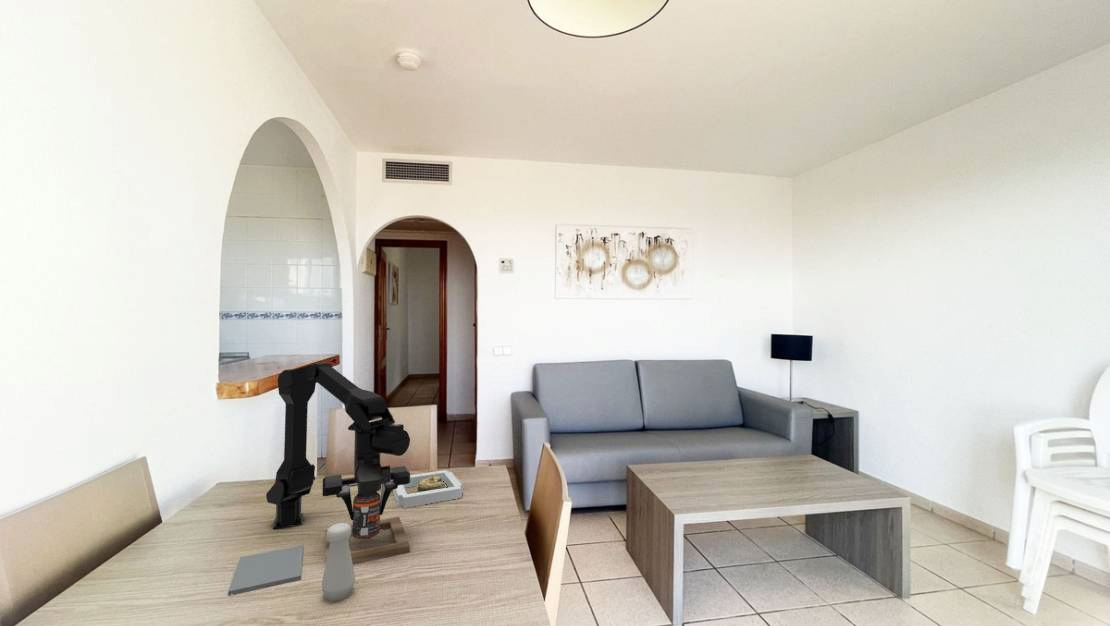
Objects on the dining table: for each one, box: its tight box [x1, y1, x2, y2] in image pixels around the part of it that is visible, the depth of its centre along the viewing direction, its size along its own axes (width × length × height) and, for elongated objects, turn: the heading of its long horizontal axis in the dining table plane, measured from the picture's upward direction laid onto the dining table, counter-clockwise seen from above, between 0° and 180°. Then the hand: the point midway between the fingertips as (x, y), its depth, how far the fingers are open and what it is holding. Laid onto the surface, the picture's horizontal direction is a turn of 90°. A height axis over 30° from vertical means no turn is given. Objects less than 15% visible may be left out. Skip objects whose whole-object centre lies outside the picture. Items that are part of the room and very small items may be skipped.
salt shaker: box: [321, 522, 356, 602], centre depth 86 cm, size 6×6×13 cm
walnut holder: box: [325, 516, 411, 565], centre depth 106 cm, size 17×17×2 cm
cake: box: [415, 475, 446, 493], centre depth 138 cm, size 10×10×5 cm
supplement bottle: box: [352, 491, 381, 540], centre depth 106 cm, size 6×6×11 cm
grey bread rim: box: [392, 469, 464, 510], centre depth 138 cm, size 18×18×3 cm
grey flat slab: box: [227, 544, 304, 596], centre depth 95 cm, size 14×12×1 cm
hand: (366, 517), depth 106 cm, fingers closed on supplement bottle, 6 cm apart
